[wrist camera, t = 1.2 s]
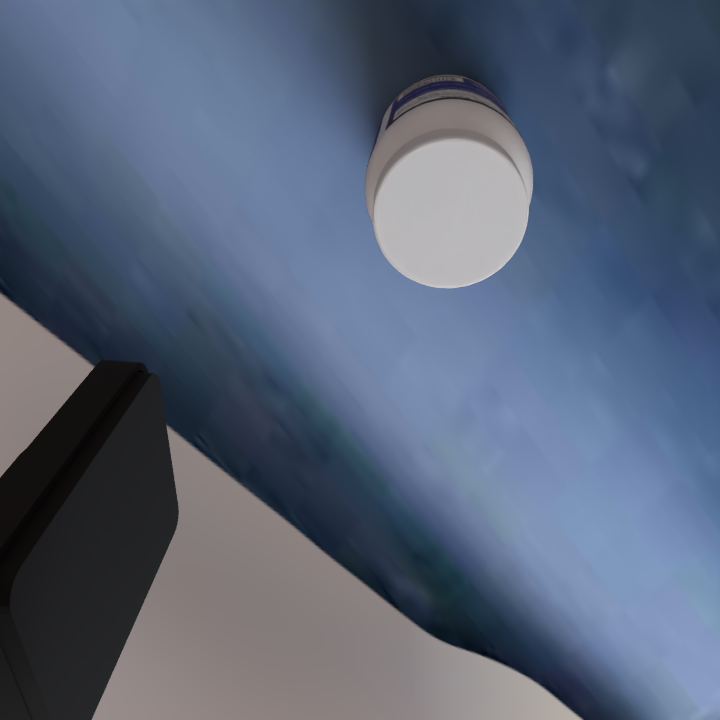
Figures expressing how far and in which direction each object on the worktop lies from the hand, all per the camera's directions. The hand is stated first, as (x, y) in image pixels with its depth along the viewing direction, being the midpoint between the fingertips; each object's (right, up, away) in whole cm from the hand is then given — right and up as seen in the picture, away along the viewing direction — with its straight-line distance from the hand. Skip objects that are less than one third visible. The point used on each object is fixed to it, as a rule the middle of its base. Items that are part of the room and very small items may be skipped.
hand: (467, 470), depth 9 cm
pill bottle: (+2, +11, +18) cm, 21 cm away
